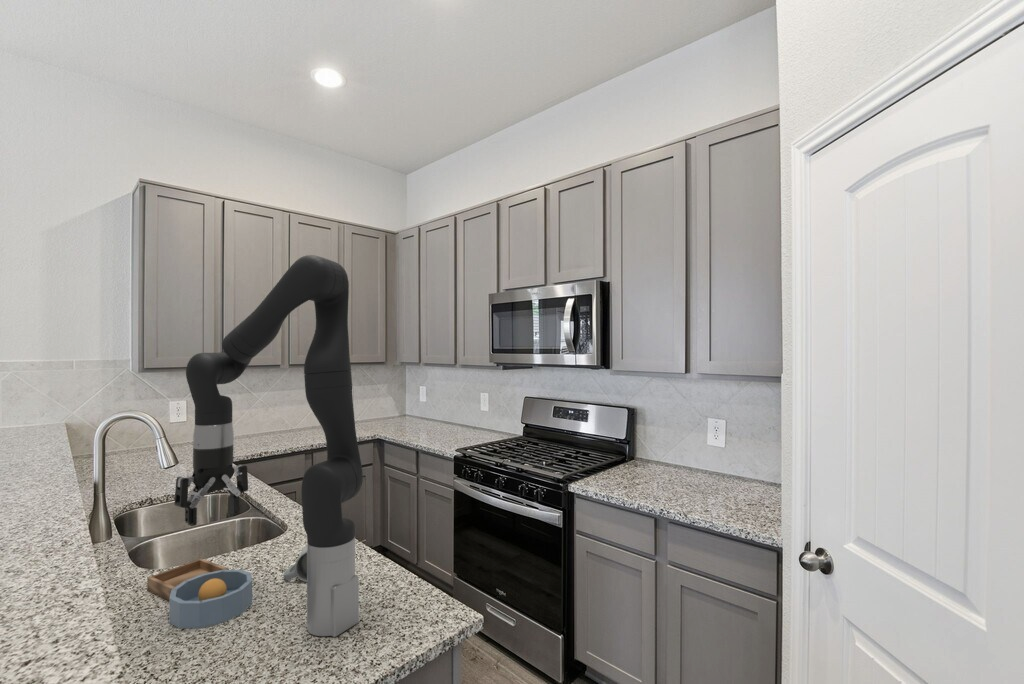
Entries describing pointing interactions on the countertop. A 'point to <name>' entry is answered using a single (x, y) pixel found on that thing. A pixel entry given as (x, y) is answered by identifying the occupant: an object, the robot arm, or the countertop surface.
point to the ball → (212, 589)
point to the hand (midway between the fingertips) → (213, 518)
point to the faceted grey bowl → (210, 600)
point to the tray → (179, 576)
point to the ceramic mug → (298, 568)
